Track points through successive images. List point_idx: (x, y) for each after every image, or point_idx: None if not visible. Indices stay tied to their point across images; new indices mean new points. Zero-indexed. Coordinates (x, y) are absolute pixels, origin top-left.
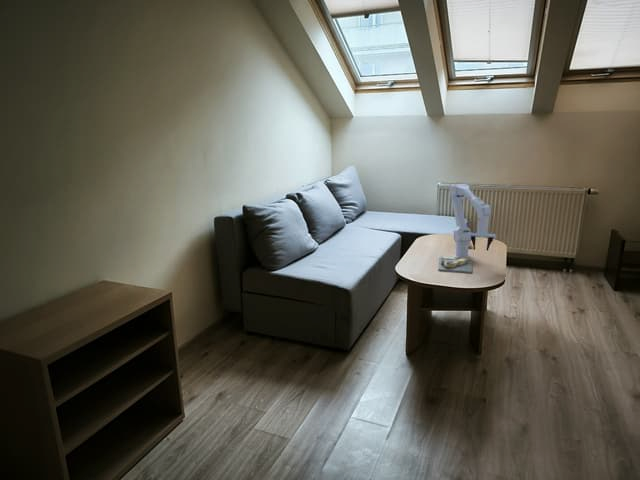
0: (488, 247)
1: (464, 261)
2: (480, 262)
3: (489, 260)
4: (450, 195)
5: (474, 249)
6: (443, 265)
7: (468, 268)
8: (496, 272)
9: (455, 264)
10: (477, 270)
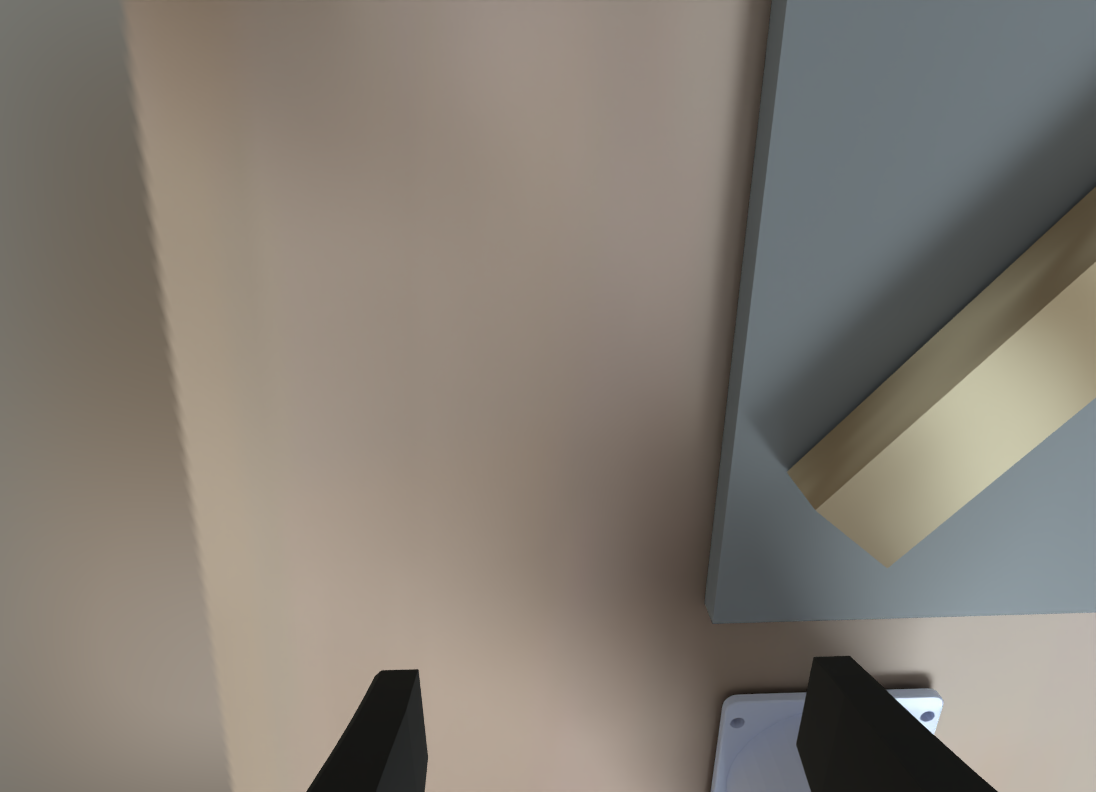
0: (338, 766)
1: (908, 401)
2: (543, 594)
3: None
4: None
5: (831, 662)
6: None
7: (855, 77)
8: (225, 77)
9: None
10: (636, 115)
